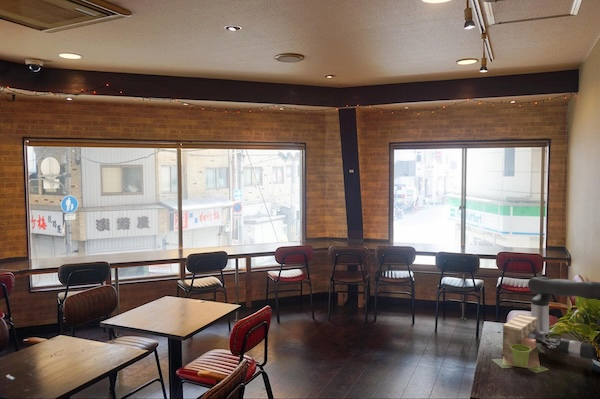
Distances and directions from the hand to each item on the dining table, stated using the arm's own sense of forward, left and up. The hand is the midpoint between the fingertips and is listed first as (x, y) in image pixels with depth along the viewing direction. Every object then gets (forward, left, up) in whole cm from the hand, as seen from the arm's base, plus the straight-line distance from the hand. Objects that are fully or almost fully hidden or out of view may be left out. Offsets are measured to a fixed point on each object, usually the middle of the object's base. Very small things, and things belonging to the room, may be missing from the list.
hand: (534, 339), depth 247 cm
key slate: (+1, -3, -2) cm, 4 cm away
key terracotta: (+8, +2, -2) cm, 8 cm away
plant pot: (+18, +4, -8) cm, 20 cm away
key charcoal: (-7, -2, -2) cm, 8 cm away
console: (+2, -7, -8) cm, 10 cm away
